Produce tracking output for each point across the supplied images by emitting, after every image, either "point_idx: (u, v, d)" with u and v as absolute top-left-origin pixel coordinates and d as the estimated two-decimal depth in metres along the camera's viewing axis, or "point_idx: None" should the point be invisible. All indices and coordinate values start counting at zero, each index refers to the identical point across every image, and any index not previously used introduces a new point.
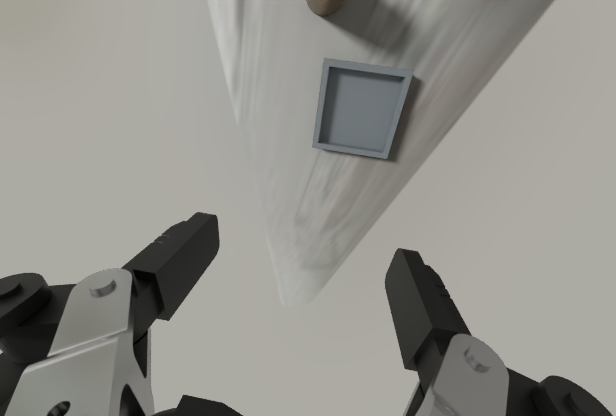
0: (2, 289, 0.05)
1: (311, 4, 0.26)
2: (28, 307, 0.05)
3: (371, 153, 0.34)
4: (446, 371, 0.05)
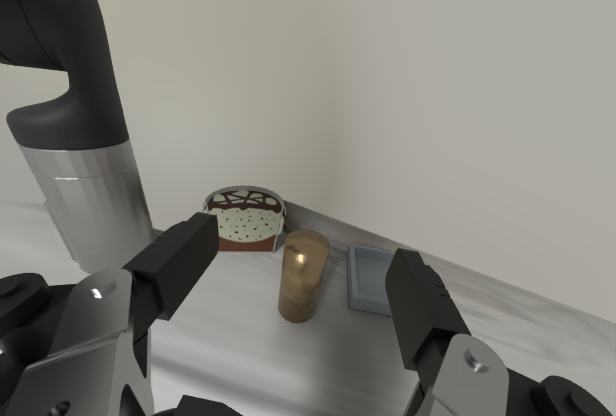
0: (2, 289, 0.05)
1: (315, 301, 0.28)
2: (28, 307, 0.05)
3: None
4: (446, 371, 0.05)
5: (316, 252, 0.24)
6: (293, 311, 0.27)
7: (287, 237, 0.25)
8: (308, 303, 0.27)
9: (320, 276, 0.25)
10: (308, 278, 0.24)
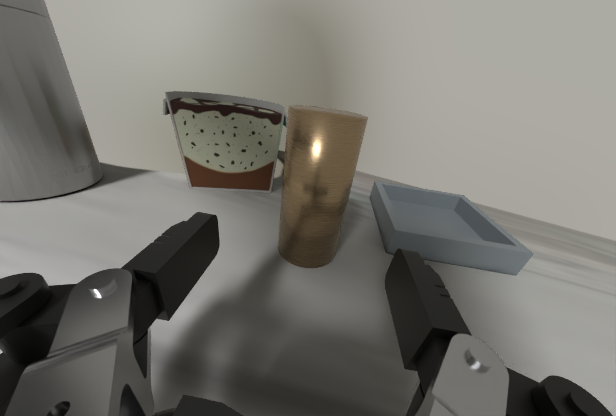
0: (3, 289, 0.05)
1: (339, 229, 0.17)
2: (28, 307, 0.05)
3: (470, 203, 0.26)
4: (446, 371, 0.05)
5: (347, 116, 0.13)
6: (303, 244, 0.16)
7: (292, 105, 0.14)
8: (330, 228, 0.16)
9: (351, 175, 0.15)
10: (332, 169, 0.13)
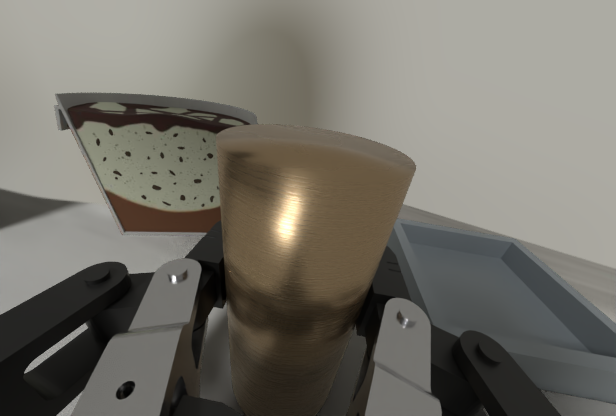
0: (96, 275, 0.06)
1: (340, 362, 0.09)
2: (118, 291, 0.06)
3: (530, 255, 0.18)
4: (383, 335, 0.05)
5: (368, 166, 0.05)
6: (269, 404, 0.08)
7: (235, 128, 0.06)
8: (322, 378, 0.08)
9: (369, 285, 0.06)
10: (327, 296, 0.05)
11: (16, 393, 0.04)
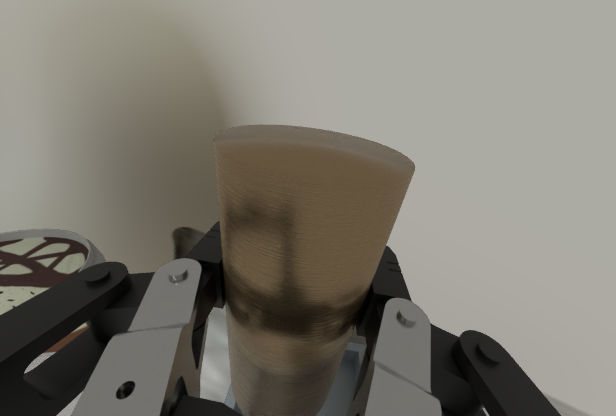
0: (96, 275, 0.06)
1: (340, 363, 0.09)
2: (118, 291, 0.06)
3: None
4: (383, 335, 0.05)
5: (366, 167, 0.05)
6: (269, 405, 0.08)
7: (234, 129, 0.06)
8: (321, 379, 0.08)
9: (369, 286, 0.06)
10: (325, 298, 0.05)
11: (16, 393, 0.04)
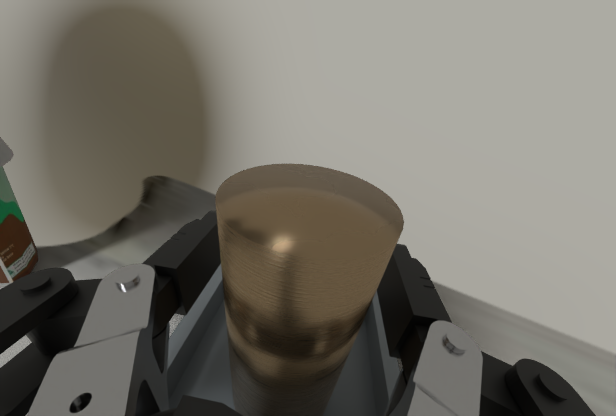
0: (35, 282, 0.05)
1: None
2: (59, 300, 0.05)
3: (380, 317, 0.14)
4: (426, 358, 0.05)
5: (357, 230, 0.05)
6: None
7: (234, 178, 0.06)
8: (318, 404, 0.08)
9: (361, 323, 0.07)
10: (319, 344, 0.06)
11: None
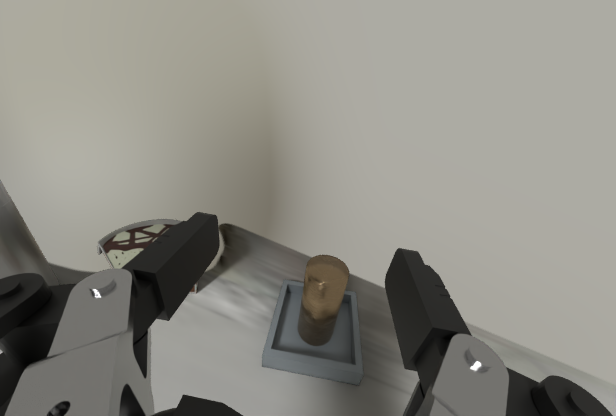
0: (3, 289, 0.05)
1: None
2: (28, 307, 0.05)
3: (353, 304, 0.33)
4: (446, 371, 0.05)
5: (338, 279, 0.25)
6: (314, 335, 0.28)
7: (308, 264, 0.26)
8: (329, 326, 0.27)
9: (341, 301, 0.26)
10: (330, 304, 0.25)
11: None
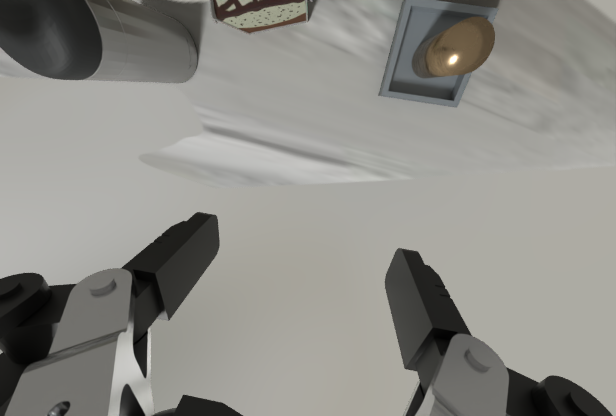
0: (3, 289, 0.05)
1: None
2: (28, 307, 0.05)
3: None
4: (446, 371, 0.05)
5: (472, 63, 0.24)
6: (427, 77, 0.32)
7: (446, 41, 0.23)
8: None
9: None
10: None
11: None
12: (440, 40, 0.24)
